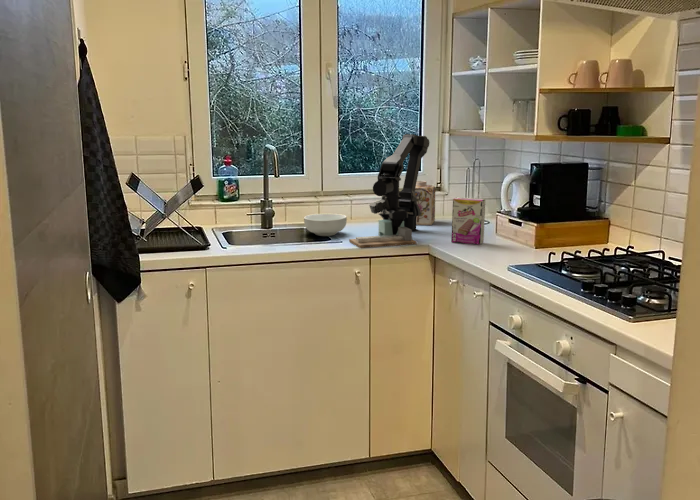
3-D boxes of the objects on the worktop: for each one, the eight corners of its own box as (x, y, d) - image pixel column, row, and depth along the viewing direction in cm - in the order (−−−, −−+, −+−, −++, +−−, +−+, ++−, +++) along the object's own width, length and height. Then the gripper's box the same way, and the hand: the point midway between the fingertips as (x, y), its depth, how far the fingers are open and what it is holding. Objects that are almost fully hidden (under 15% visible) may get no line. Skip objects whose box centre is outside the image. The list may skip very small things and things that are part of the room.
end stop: (404, 237, 270) (404, 226, 269) (411, 240, 263) (411, 229, 262) (398, 237, 269) (398, 227, 268) (405, 240, 262) (405, 230, 262)
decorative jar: (435, 221, 312) (436, 180, 308) (432, 225, 301) (433, 182, 297) (408, 220, 314) (408, 179, 311) (404, 224, 303) (404, 182, 300)
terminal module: (397, 234, 281) (397, 219, 280) (403, 237, 275) (404, 221, 274) (378, 235, 279) (378, 220, 278) (384, 238, 273) (384, 222, 272)
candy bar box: (450, 242, 264) (452, 198, 261) (454, 240, 269) (456, 196, 266) (480, 245, 260) (482, 200, 256) (484, 242, 264) (485, 198, 261)
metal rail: (406, 238, 268) (406, 234, 268) (409, 239, 265) (409, 235, 265) (355, 241, 262) (355, 237, 261) (358, 242, 259) (358, 238, 259)
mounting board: (404, 238, 273) (404, 235, 272) (416, 244, 261) (416, 241, 261) (349, 241, 266) (349, 239, 266) (359, 248, 255) (359, 245, 254)
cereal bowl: (313, 229, 292) (313, 212, 290) (352, 231, 287) (352, 214, 285) (297, 236, 276) (297, 218, 275) (337, 239, 271) (337, 221, 269)
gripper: (363, 191, 280) (363, 230, 283) (380, 197, 263) (380, 239, 266) (390, 190, 283) (389, 229, 287) (408, 196, 266) (407, 237, 269)
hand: (391, 233), depth 277 cm, fingers closed on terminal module, 6 cm apart
